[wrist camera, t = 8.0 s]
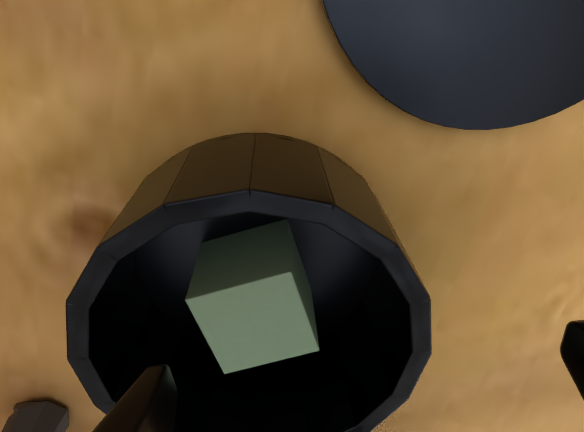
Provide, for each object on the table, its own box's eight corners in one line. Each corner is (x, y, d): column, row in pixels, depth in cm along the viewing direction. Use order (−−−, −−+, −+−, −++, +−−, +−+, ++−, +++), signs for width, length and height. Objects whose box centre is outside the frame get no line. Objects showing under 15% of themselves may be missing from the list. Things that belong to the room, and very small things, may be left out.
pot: (430, 288, 23) (483, 385, 17) (229, 387, 26) (218, 499, 20) (300, 70, 17) (315, 106, 12) (63, 229, 20) (-20, 321, 14)
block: (287, 218, 20) (291, 271, 16) (311, 288, 22) (319, 351, 18) (201, 242, 20) (184, 300, 16) (232, 309, 22) (224, 374, 18)
